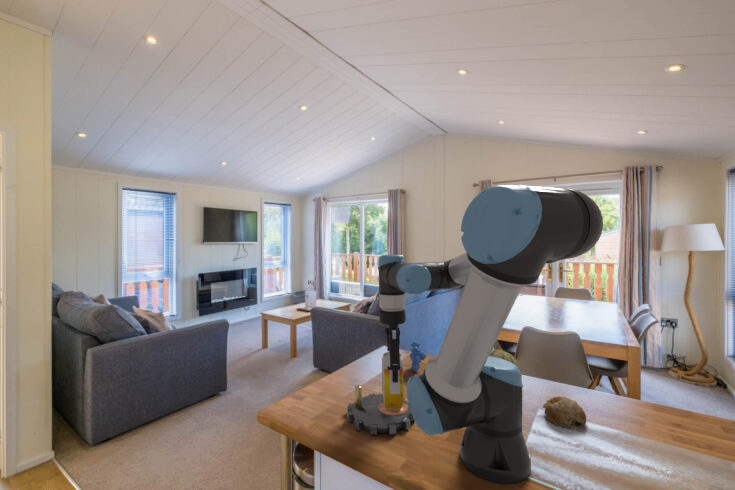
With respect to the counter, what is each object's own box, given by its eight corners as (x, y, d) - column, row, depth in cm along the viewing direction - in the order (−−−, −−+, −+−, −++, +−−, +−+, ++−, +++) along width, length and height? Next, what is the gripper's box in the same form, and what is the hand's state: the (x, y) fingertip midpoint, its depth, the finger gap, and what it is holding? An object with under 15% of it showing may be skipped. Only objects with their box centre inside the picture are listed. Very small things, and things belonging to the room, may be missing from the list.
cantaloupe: (476, 403, 105) (476, 355, 105) (471, 383, 120) (470, 341, 119) (527, 406, 102) (527, 357, 102) (515, 386, 117) (515, 342, 117)
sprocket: (418, 403, 104) (418, 376, 104) (411, 440, 85) (410, 407, 85) (357, 397, 109) (357, 371, 109) (337, 430, 90) (337, 399, 90)
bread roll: (558, 442, 91) (569, 421, 87) (532, 409, 100) (541, 389, 96) (587, 435, 93) (599, 416, 90) (559, 404, 102) (569, 385, 99)
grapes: (427, 377, 124) (426, 345, 124) (408, 377, 126) (408, 344, 125) (426, 366, 136) (426, 336, 136) (409, 365, 137) (409, 335, 137)
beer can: (406, 410, 95) (406, 357, 95) (386, 413, 93) (385, 359, 93) (399, 400, 101) (398, 350, 101) (379, 403, 99) (379, 352, 99)
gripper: (378, 301, 109) (379, 367, 109) (380, 318, 84) (381, 403, 84) (401, 301, 109) (402, 366, 109) (410, 317, 84) (411, 403, 84)
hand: (393, 382), depth 97 cm, fingers open, 13 cm apart
